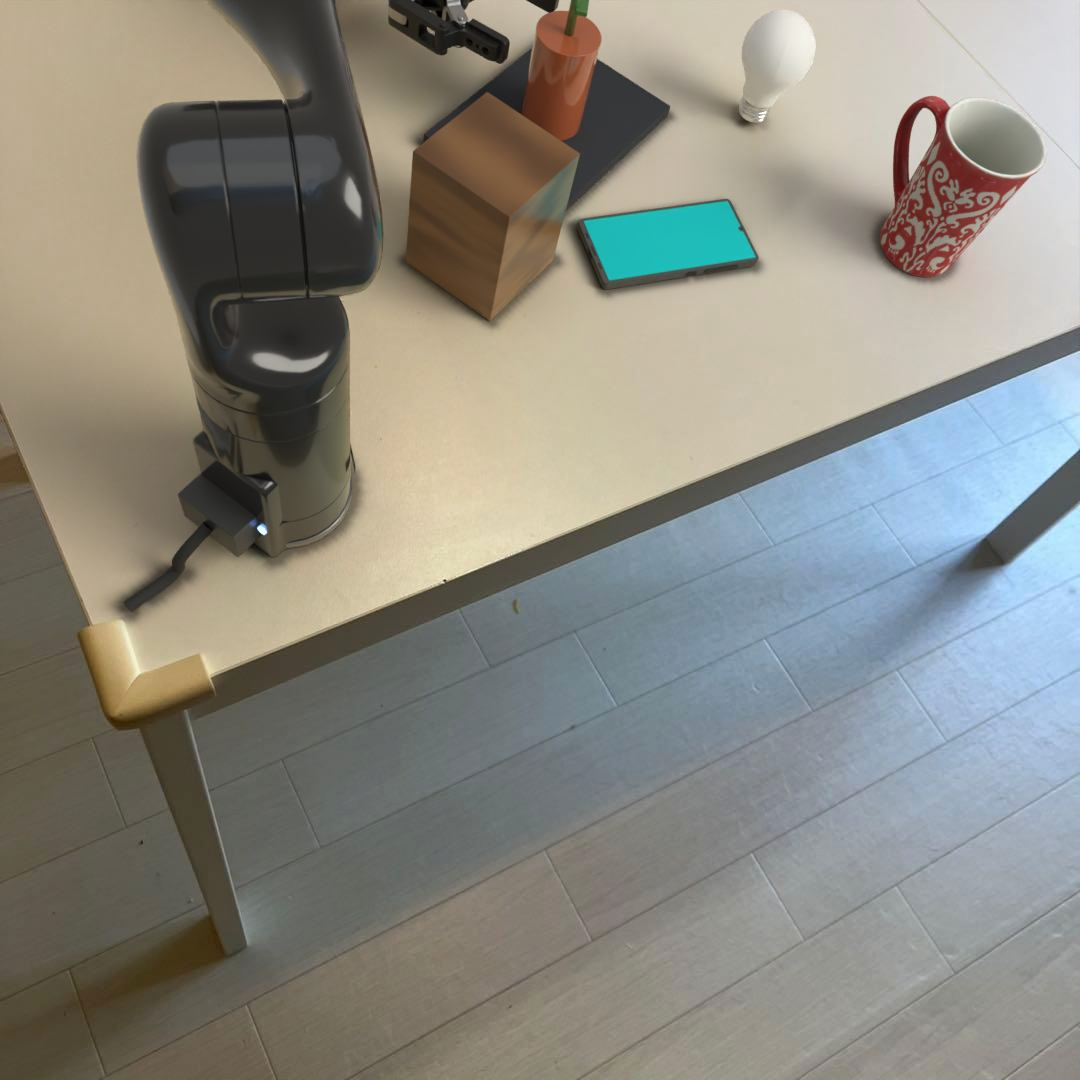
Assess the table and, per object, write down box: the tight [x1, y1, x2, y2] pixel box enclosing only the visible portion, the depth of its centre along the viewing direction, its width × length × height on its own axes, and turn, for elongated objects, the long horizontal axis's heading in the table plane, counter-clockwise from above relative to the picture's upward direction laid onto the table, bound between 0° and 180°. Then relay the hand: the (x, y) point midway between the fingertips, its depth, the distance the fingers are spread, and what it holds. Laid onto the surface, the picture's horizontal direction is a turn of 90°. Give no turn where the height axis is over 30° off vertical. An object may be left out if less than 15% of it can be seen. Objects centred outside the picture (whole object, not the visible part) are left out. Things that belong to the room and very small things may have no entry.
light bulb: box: [738, 9, 817, 124], centre depth 95 cm, size 7×7×11 cm
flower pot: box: [521, 0, 602, 141], centre depth 85 cm, size 6×6×20 cm
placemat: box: [422, 48, 671, 213], centre depth 94 cm, size 20×14×1 cm
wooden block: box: [405, 92, 580, 322], centre depth 81 cm, size 9×9×12 cm
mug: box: [879, 95, 1047, 278], centre depth 91 cm, size 13×9×14 cm
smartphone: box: [576, 198, 759, 290], centre depth 90 cm, size 7×1×15 cm
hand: (532, 26), depth 87 cm, fingers open, 8 cm apart
